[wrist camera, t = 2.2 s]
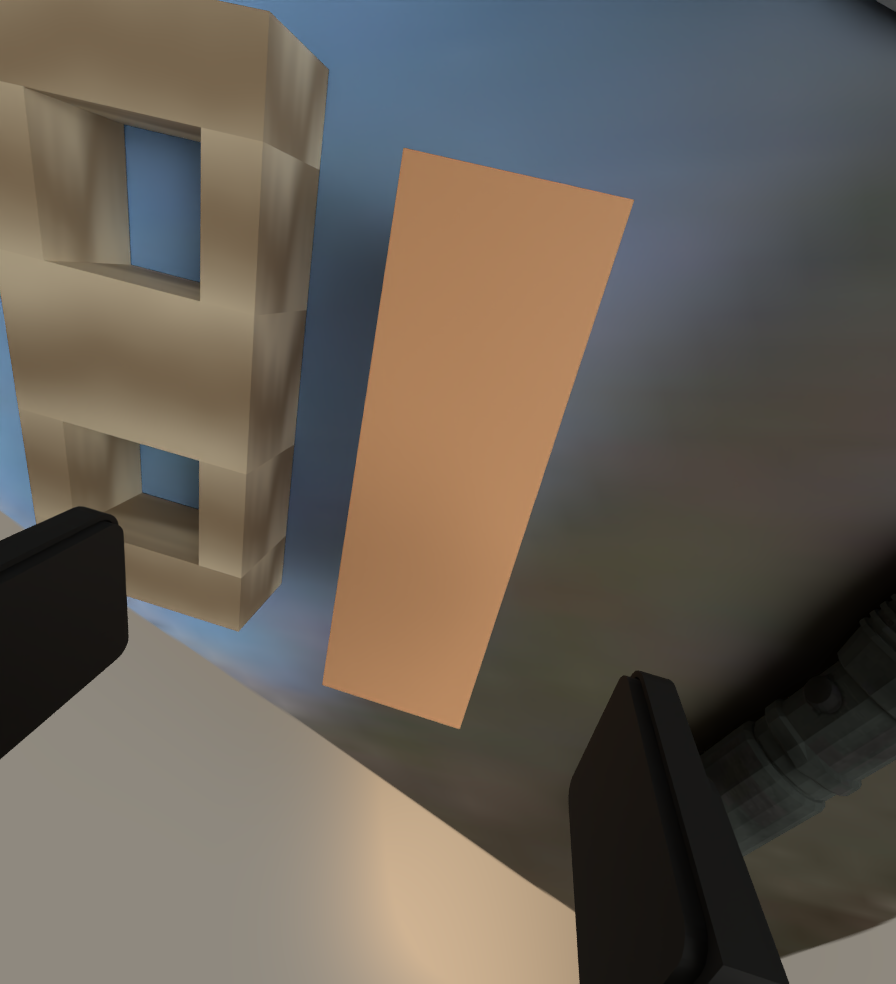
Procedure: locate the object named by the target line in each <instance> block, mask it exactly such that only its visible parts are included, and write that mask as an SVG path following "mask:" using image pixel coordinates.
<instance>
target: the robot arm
mask: <svg viewBox="0 0 896 984" xmlns="http://www.w3.org/2000/svg"><path fill="white" fill-rule="evenodd" d="M876 1H878V2H879V3H881V4H883V5H885V6H886V7H888V8H890V9H892V10H893V11H895V12H896V0H876ZM127 643H128V616H127V594H126V572H125V550H124V533H123V529H122V528H121V526H119V525H118V521H117V519H116V518H115V516H113V515H111V514H108V513H104V512H101V511H98V510H94V509H91V508H87V507H83V506H78V507H74V508H71V509H69V510H67V511H65V512H63V513H60V514H58V515H56V516H54V517H52V518H49V519H47V520H45V521H43V522H41V523H38V524H36V525H34V526H32V527H29V528H27V529H25V530H23V531H21V532H18V533H16V534H14V535H12V536H10V537H7V538H5V539H3V540H1V541H0V759H1V758H2V757H3V756H4V755H6V754H7V753H8V752H9V751H10V750H12V749H13V748H14V747H15V746H16V745H17V744H18V743H20V742H21V741H22V740H23V739H24V738H25V737H27V736H28V735H29V734H30V733H31V732H33V731H34V730H35V729H36V728H37V727H38V726H39V725H41V724H42V723H43V722H44V721H45V720H46V719H48V718H49V717H50V716H51V715H52V714H53V713H55V712H56V711H57V710H58V709H59V708H60V707H62V706H63V705H64V704H65V703H66V702H67V701H68V700H70V699H71V698H72V697H73V696H74V695H75V694H77V693H78V692H79V691H80V690H81V689H82V688H84V687H85V686H86V685H87V684H88V683H90V682H91V681H92V680H93V679H94V678H95V677H96V676H98V675H99V674H100V673H101V672H102V671H104V670H105V668H107V667H108V666H109V665H110V664H112V663H113V662H114V661H115V660H116V659H117V658H118V657H119V656H120V655H121V654H122V653H123V651H124V650H125V648H126V645H127ZM569 818H570V834H571V850H572V867H573V883H574V899H575V915H576V931H577V947H578V963H579V980H580V984H789V981H788V979H787V976H786V973H785V970H784V968H783V965H782V963H781V960H780V957H779V954H778V951H777V949H776V946H775V943H774V940H773V938H772V935H771V932H770V930H769V927H768V924H767V921H766V919H765V916H764V913H763V911H762V908H761V905H760V902H759V900H758V897H757V894H756V891H755V889H754V886H753V883H752V881H751V878H750V875H749V872H748V870H747V867H746V864H745V861H744V859H743V856H742V853H741V851H740V848H739V845H738V842H737V840H736V837H735V834H734V832H733V829H732V826H731V823H730V821H729V818H728V815H727V812H726V810H725V807H724V804H723V802H722V799H721V796H720V794H719V792H718V790H717V788H716V786H715V784H714V783H713V782H712V780H711V779H710V778H709V777H707V775H706V772H705V769H704V767H703V764H702V761H701V758H700V755H699V752H698V750H697V747H696V744H695V741H694V738H693V735H692V733H691V730H690V727H689V724H688V721H687V719H686V716H685V713H684V710H683V707H682V704H681V702H680V699H679V696H678V693H677V690H676V687H675V685H674V683H673V682H672V681H671V680H669V679H665V678H662V677H659V676H655V675H652V674H649V673H645V672H642V671H635V672H634V673H633V674H632V675H631V677H628V676H622V677H621V678H620V679H619V681H618V683H617V685H616V687H615V689H614V691H613V694H612V696H611V698H610V700H609V702H608V704H607V706H606V708H605V710H604V712H603V714H602V716H601V719H600V721H599V723H598V725H597V727H596V729H595V731H594V733H593V735H592V737H591V739H590V741H589V744H588V746H587V748H586V750H585V752H584V754H583V756H582V758H581V760H580V762H579V764H578V766H577V769H576V771H575V773H574V775H573V777H572V780H571V783H570V788H569Z"/></svg>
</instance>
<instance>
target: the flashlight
mask: <svg viewBox="0 0 896 984" xmlns="http://www.w3.org/2000/svg"><path fill="white" fill-rule="evenodd" d="M891 598H892V599H893V600H892V601H891V602H889V601H884V602H883V603H882V604H880V607H881V609H880V610H879V609H874V610H873V611H872V612H870V613H869V614H870V616H871V617H870V618H869V617H864V618H863V619H861V620H860V621H859V623H860V625H861V626H860V627H859V628H858V629H857V630H856V632H855V633H854V634H853V635H852V636H851V637H850V638H849V640H848V641H847V642H846V643H845V644H844V645H843V647H842V648H841V649H840V650H839V651H838V652H837V655H838V658H839V661H838V662H836V663H835V664H834V665H832V666H831V667H830V668H828V669H827V670H826V671H824V672H823V673H821V674H820V675H819V676H814V677H812V678H810V679H809V680H808V681H807V683H806V685H805V686H804V687H802V688H801V689H800V690H798V691H797V692H796V693H794V694H793V695H791V696H790V697H789V698H787V699H786V700H784V699H777V700H775V701H774V702H773V703H771V704H770V705H769V706H767V707H766V708H765V715H764V716H763V717H761V718H760V719H759V720H757V721H756V722H754V721H747V722H745V723H744V724H742V725H741V726H740V727H738V728H737V729H735V730H734V731H733V732H731V733H730V734H729V735H727V736H726V737H725V738H723V739H722V740H721V741H719V742H718V743H717V744H715V745H714V746H713V747H711V748H710V749H709V750H707V751H706V752H704V753H703V754H702V755H700V758H701V761H702V764H703V767H704V769H705V772H706V775H707V777H709V778H710V779H711V780H712V782H713V783H714V784H715V786H716V788H717V790H718V792H719V794H720V796H721V799H722V802H723V804H724V807H725V810H726V812H727V815H728V818H729V821H730V823H731V826H732V829H733V832H734V834H735V837H736V840H737V842H738V845H739V848H740V851H741V853H742V856H745V855H747V854H749V853H750V852H752V851H754V850H755V849H757V848H759V847H761V846H762V845H764V844H766V843H768V842H769V841H771V840H773V839H774V838H776V837H778V836H780V835H781V834H783V833H785V832H787V831H788V830H790V829H792V828H794V827H795V826H797V825H799V824H801V823H802V822H804V821H806V820H807V819H809V818H811V817H813V816H814V815H816V814H818V813H820V812H821V811H822V810H823V809H824V807H825V801H826V800H828V799H830V798H831V797H833V796H835V795H836V794H837V795H839V796H848V795H850V794H851V793H853V792H855V791H857V790H858V789H859V788H860V787H861V785H862V783H861V780H862V779H864V778H865V777H867V776H869V775H871V774H872V773H874V772H876V771H877V770H879V769H881V768H883V767H884V766H886V765H888V764H889V763H891V762H893V761H894V760H896V593H895V594H893V595H892V596H891Z"/></svg>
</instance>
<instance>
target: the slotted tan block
mask: <svg viewBox="0 0 896 984" xmlns="http://www.w3.org/2000/svg"><path fill="white" fill-rule="evenodd" d="M328 74H329V69H328V68H327V67H326V66H325V65H324V64H323V63H322V62H321V61H320V60H319V59H317V58H316V57H315V56H314V55H313V54H312V53H311V52H310V51H309V50H308V49H307V48H306V47H305V46H304V45H303V44H302V43H301V42H300V41H299V40H298V39H297V38H296V37H295V36H294V35H293V34H292V33H291V32H290V31H289V30H288V29H287V28H286V27H285V26H284V25H283V24H282V23H281V22H280V21H279V20H278V19H277V18H276V17H275V16H274V15H273V14H272V13H271V12H270V11H266V10H261V9H256V8H251V7H246V6H242V5H237V4H232V3H227V2H222V1H217V0H0V293H1V299H2V306H3V312H4V319H5V325H6V332H7V338H8V345H9V351H10V357H11V364H12V370H13V377H14V383H15V390H16V396H17V402H18V409H19V415H20V422H21V428H22V435H23V441H24V448H25V454H26V460H27V467H28V473H29V480H30V486H31V493H32V499H33V505H34V512H35V518H36V524H38V523H41V522H43V521H45V520H47V519H49V518H52V517H54V516H56V515H58V514H60V513H63V512H65V511H67V510H69V509H71V508H74V507H78V506H83V507H87V508H91V509H94V510H98V511H101V512H104V513H108V514H111V515H113V516H115V518H116V519H117V521H118V525H119V526H121V528H122V529H123V533H124V550H125V572H126V594H127V596H129V597H132V598H135V599H138V600H141V601H144V602H147V603H151V604H154V605H157V606H160V607H163V608H166V609H169V610H172V611H176V612H179V613H182V614H185V615H188V616H191V617H194V618H198V619H201V620H204V621H207V622H210V623H213V624H216V625H220V626H223V627H226V628H229V629H232V630H235V631H238V632H239V630H240V629H241V628H242V627H243V626H244V625H245V624H246V623H247V621H248V620H249V619H250V618H251V617H252V616H253V615H254V614H255V613H256V611H257V610H258V609H259V608H260V607H261V606H262V605H263V604H264V602H265V601H266V600H267V599H268V598H269V597H270V596H271V595H272V593H273V592H274V591H275V590H276V589H277V588H278V587H279V586H280V584H281V583H282V572H283V561H284V550H285V539H286V529H287V518H288V507H289V496H290V485H291V474H292V464H293V453H294V442H295V431H296V420H297V409H298V399H299V388H300V377H301V366H302V355H303V344H304V334H305V323H306V312H307V301H308V290H309V279H310V269H311V258H312V247H313V236H314V225H315V214H316V204H317V193H318V182H319V171H320V160H321V149H322V139H323V128H324V117H325V106H326V95H327V84H328ZM124 125H129V126H133V127H137V128H141V129H146V130H150V131H154V132H158V133H163V134H167V135H171V136H176V137H180V138H184V139H188V140H193V141H197V142H201V227H200V282H196V281H192V280H188V279H184V278H181V277H177V276H173V275H169V274H165V273H161V272H157V271H153V270H150V269H146V268H142V267H138V266H134V265H131V257H130V237H129V217H128V196H127V176H126V156H125V135H124ZM140 444H143V445H146V446H150V447H153V448H157V449H160V450H164V451H167V452H171V453H174V454H177V455H181V456H184V457H188V458H191V459H195V460H198V461H199V510H198V509H195V508H192V507H188V506H185V505H182V504H178V503H175V502H172V501H168V500H165V499H162V498H158V497H155V496H152V495H148V494H145V493H142V480H141V460H140Z"/></svg>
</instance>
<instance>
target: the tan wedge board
mask: <svg viewBox="0 0 896 984" xmlns="http://www.w3.org/2000/svg"><path fill="white" fill-rule="evenodd" d="M633 202H634V200H632V199H628V198H623V197H619V196H615V195H610V194H606V193H601V192H597V191H592V190H588V189H584V188H579V187H575V186H570V185H566V184H562V183H557V182H553V181H548V180H544V179H539V178H535V177H531V176H526V175H522V174H517V173H513V172H509V171H504V170H500V169H495V168H491V167H486V166H482V165H478V164H473V163H469V162H464V161H460V160H455V159H451V158H447V157H442V156H438V155H433V154H429V153H425V152H420V151H416V150H411V149H407V148H403V155H402V161H401V168H400V175H399V181H398V188H397V194H396V201H395V208H394V214H393V221H392V227H391V234H390V241H389V247H388V254H387V260H386V267H385V274H384V280H383V287H382V293H381V300H380V307H379V313H378V320H377V327H376V333H375V340H374V346H373V353H372V360H371V366H370V373H369V379H368V386H367V393H366V399H365V406H364V412H363V419H362V426H361V432H360V439H359V445H358V452H357V459H356V465H355V472H354V479H353V485H352V492H351V498H350V505H349V512H348V518H347V525H346V531H345V538H344V545H343V551H342V558H341V564H340V571H339V578H338V584H337V591H336V597H335V604H334V611H333V617H332V624H331V631H330V637H329V644H328V650H327V657H326V664H325V670H324V677H323V683H322V685H324V686H327V687H330V688H334V689H337V690H340V691H343V692H346V693H349V694H352V695H355V696H358V697H361V698H365V699H368V700H371V701H374V702H377V703H380V704H383V705H386V706H389V707H392V708H395V709H399V710H402V711H405V712H408V713H411V714H414V715H417V716H420V717H423V718H426V719H429V720H433V721H436V722H439V723H442V724H445V725H448V726H451V727H454V728H457V729H460V726H461V723H462V720H463V717H464V714H465V711H466V708H467V705H468V702H469V699H470V696H471V693H472V690H473V687H474V684H475V681H476V678H477V675H478V672H479V669H480V666H481V663H482V660H483V657H484V654H485V651H486V648H487V645H488V642H489V638H490V635H491V632H492V629H493V626H494V623H495V620H496V617H497V614H498V611H499V608H500V605H501V602H502V599H503V596H504V593H505V590H506V587H507V584H508V581H509V578H510V575H511V572H512V569H513V566H514V563H515V560H516V557H517V554H518V551H519V548H520V544H521V541H522V538H523V535H524V532H525V529H526V526H527V523H528V520H529V517H530V514H531V511H532V508H533V505H534V502H535V499H536V496H537V493H538V490H539V487H540V484H541V481H542V478H543V475H544V472H545V469H546V466H547V463H548V460H549V457H550V454H551V451H552V447H553V444H554V441H555V438H556V435H557V432H558V429H559V426H560V423H561V420H562V417H563V414H564V411H565V408H566V405H567V402H568V399H569V396H570V393H571V390H572V387H573V384H574V381H575V378H576V375H577V372H578V369H579V366H580V363H581V360H582V357H583V353H584V350H585V347H586V344H587V341H588V338H589V335H590V332H591V329H592V326H593V323H594V320H595V317H596V314H597V311H598V308H599V305H600V302H601V299H602V296H603V293H604V290H605V287H606V284H607V281H608V278H609V275H610V272H611V269H612V266H613V263H614V259H615V256H616V253H617V250H618V247H619V244H620V241H621V238H622V235H623V232H624V229H625V226H626V223H627V220H628V217H629V214H630V211H631V208H632V205H633Z"/></svg>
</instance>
